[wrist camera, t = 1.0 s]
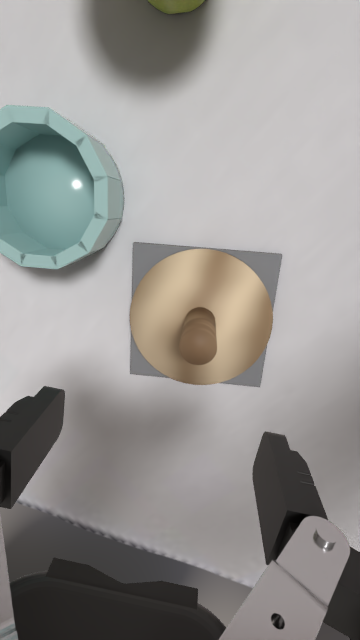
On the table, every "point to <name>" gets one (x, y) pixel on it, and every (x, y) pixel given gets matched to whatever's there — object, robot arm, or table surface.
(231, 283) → the lid
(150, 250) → the mat
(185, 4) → the plant pot
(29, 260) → the bowl
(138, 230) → the table surface
